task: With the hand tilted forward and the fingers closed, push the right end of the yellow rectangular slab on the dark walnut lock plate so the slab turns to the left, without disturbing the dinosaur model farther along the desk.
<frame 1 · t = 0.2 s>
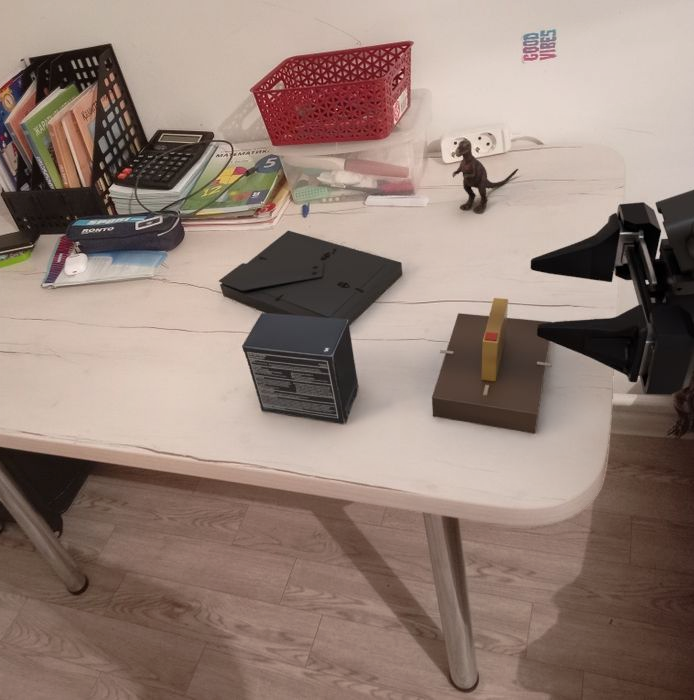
hand: (533, 295, 55), 15 cm above the table, tool horizontal, fingers open, 9 cm apart
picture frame: (309, 286, 90), on the table
small box: (310, 399, 73), on the table
dinosaur model: (485, 198, 95), on the table
lock plate: (492, 377, 69), on the table
yellow rectangular slab: (494, 338, 65), point 6 cm above the table, hinge at 0.0°
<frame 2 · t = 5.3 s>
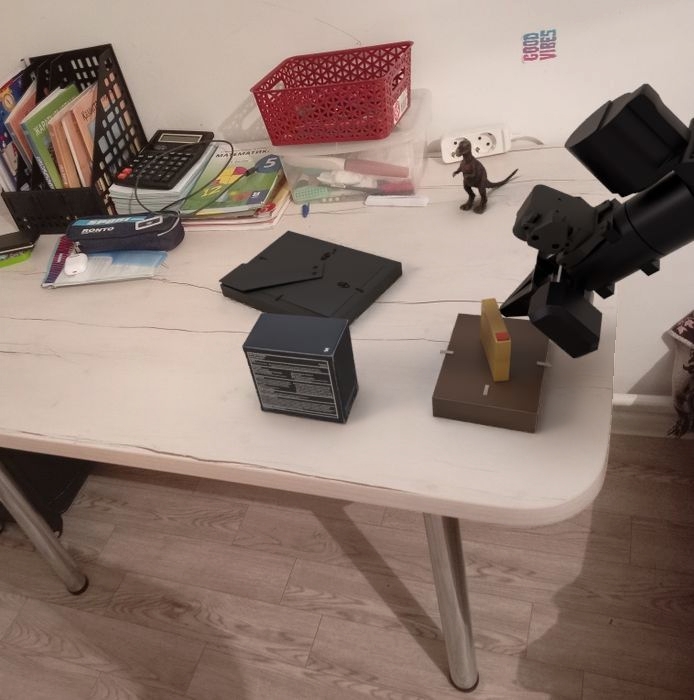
hand: (502, 312, 65), 8 cm above the table, tool tilted 45°, fingers closed
yellow rectangular slab: (494, 338, 65), point 6 cm above the table, hinge at 20.9°, touching gripper
everything else where it was.
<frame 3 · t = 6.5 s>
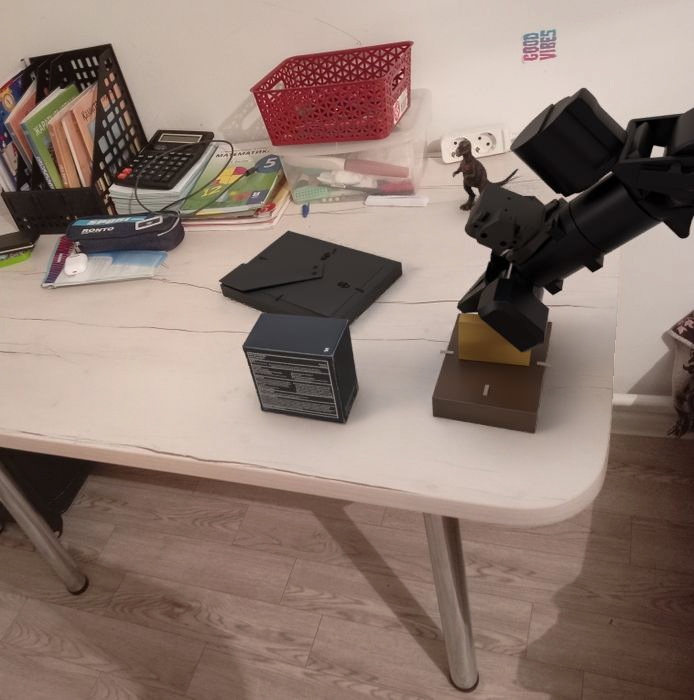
hand: (460, 308, 67), 8 cm above the table, tool tilted 45°, fingers closed
yellow rectangular slab: (494, 338, 65), point 6 cm above the table, hinge at 92.4°, touching gripper
everything else where it was.
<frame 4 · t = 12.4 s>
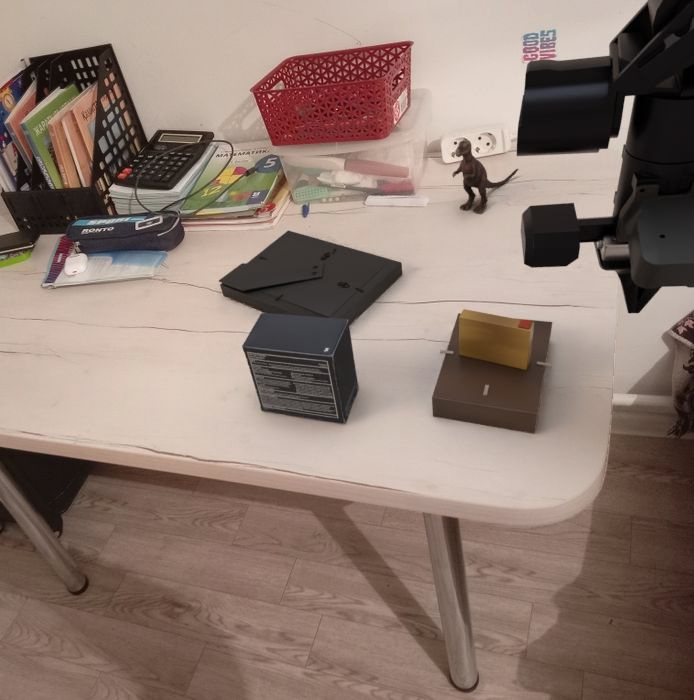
hand: (632, 310, 55), 12 cm above the table, tool pointing down, fingers closed
yellow rectangular slab: (494, 338, 65), point 6 cm above the table, hinge at 81.2°
everything else where it was.
at the end: yellow rectangular slab at +81° (first picture: +0°); dinosaur model moved 0.2 cm from its start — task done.
